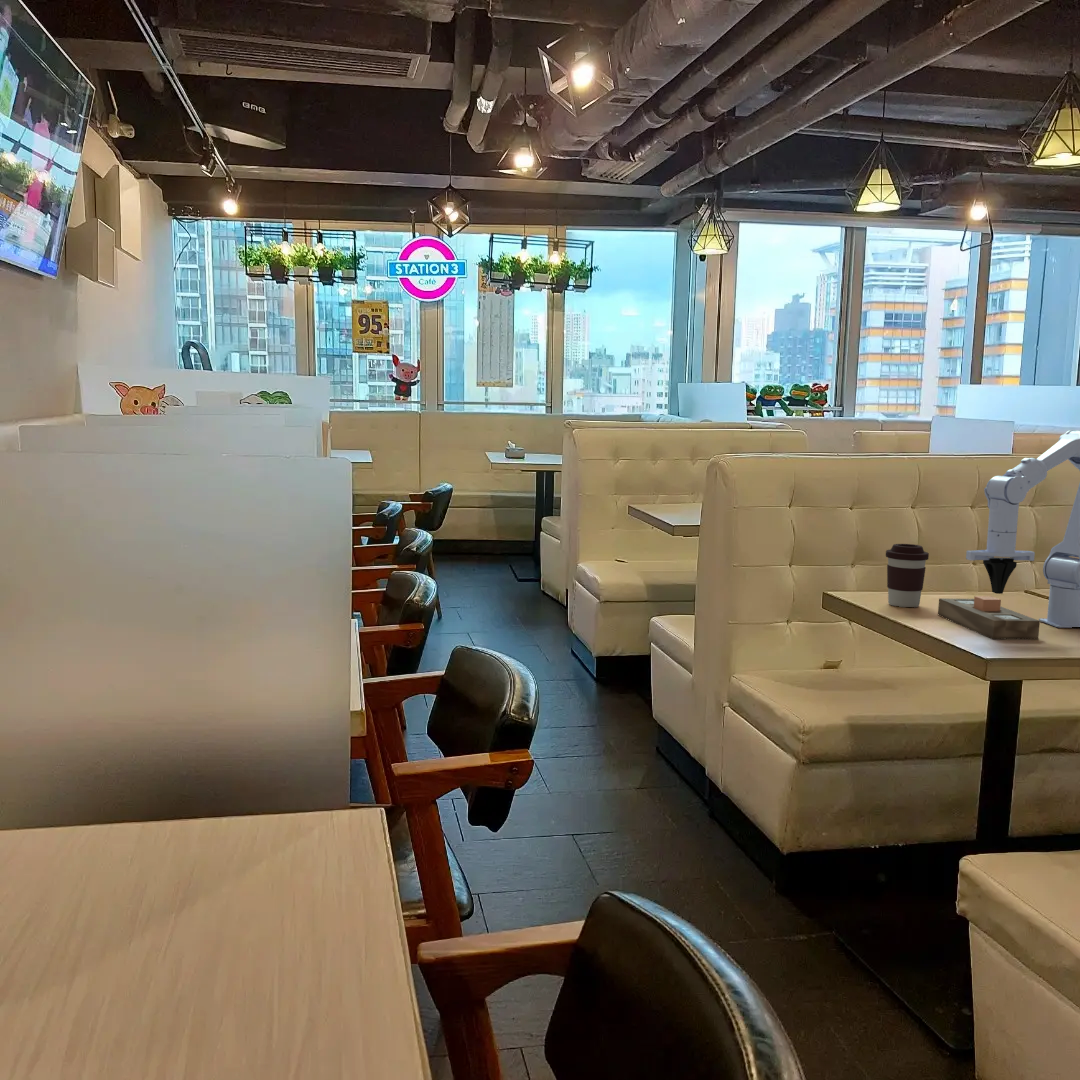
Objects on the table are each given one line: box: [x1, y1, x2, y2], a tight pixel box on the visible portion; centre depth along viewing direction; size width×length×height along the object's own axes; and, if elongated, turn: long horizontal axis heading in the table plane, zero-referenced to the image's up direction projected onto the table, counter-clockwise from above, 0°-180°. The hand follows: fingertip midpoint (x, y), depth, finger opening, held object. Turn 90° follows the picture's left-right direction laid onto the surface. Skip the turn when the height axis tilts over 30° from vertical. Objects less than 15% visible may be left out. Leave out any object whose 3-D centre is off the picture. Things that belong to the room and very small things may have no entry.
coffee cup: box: [885, 543, 930, 608], centre depth 247 cm, size 10×10×15 cm
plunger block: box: [937, 597, 1041, 640], centre depth 224 cm, size 10×25×4 cm, turn 4°
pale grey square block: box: [993, 615, 1019, 619], centre depth 215 cm, size 4×4×3 cm
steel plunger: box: [957, 601, 974, 604], centre depth 232 cm, size 4×4×3 cm
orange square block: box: [973, 595, 1002, 611], centre depth 223 cm, size 4×4×3 cm
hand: (997, 592), depth 219 cm, fingers closed
